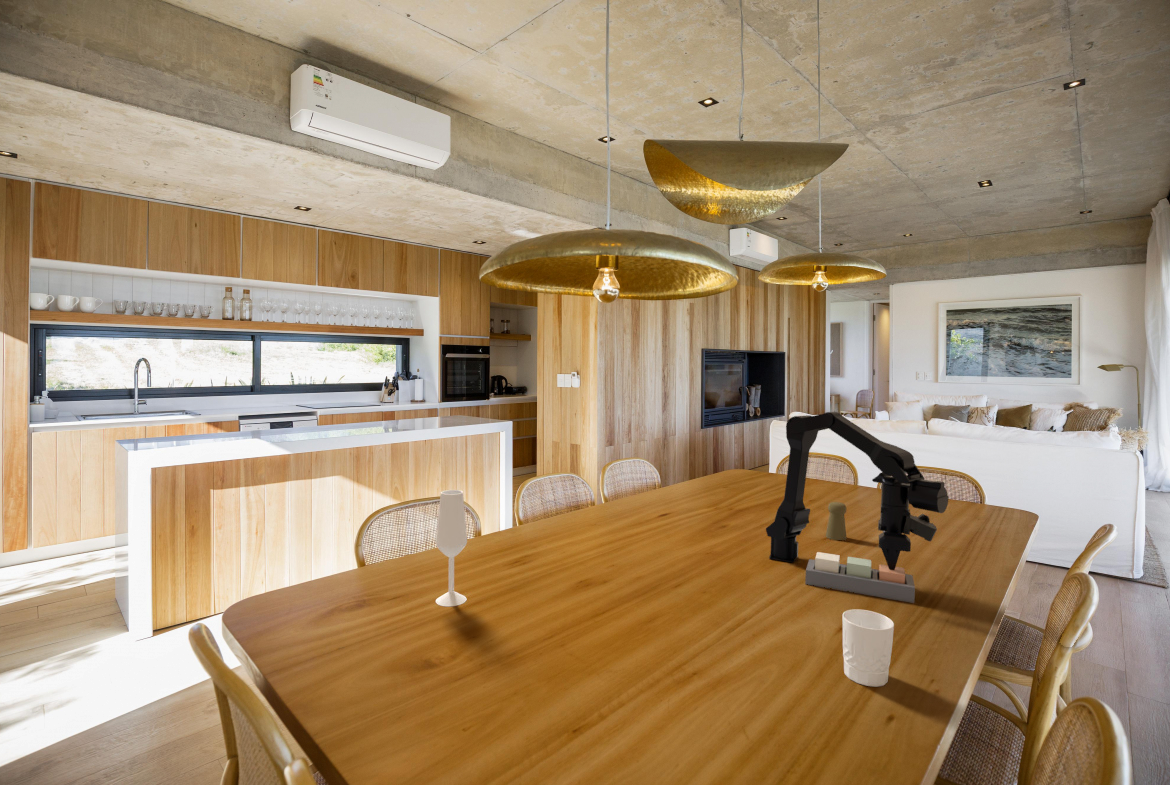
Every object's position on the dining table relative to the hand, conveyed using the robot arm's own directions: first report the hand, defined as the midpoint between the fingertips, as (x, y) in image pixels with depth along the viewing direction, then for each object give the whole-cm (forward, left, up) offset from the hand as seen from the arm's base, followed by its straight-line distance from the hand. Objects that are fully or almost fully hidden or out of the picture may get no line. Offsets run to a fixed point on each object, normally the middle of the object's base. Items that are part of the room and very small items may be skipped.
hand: (891, 569), depth 135 cm
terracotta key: (0, 0, -4) cm, 4 cm away
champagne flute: (-87, -53, -6) cm, 102 cm away
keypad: (-7, 0, -5) cm, 9 cm away
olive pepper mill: (-14, +41, -6) cm, 44 cm away
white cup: (-5, -44, -6) cm, 45 cm away
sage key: (-7, 0, -3) cm, 8 cm away
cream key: (-14, 0, -3) cm, 14 cm away
